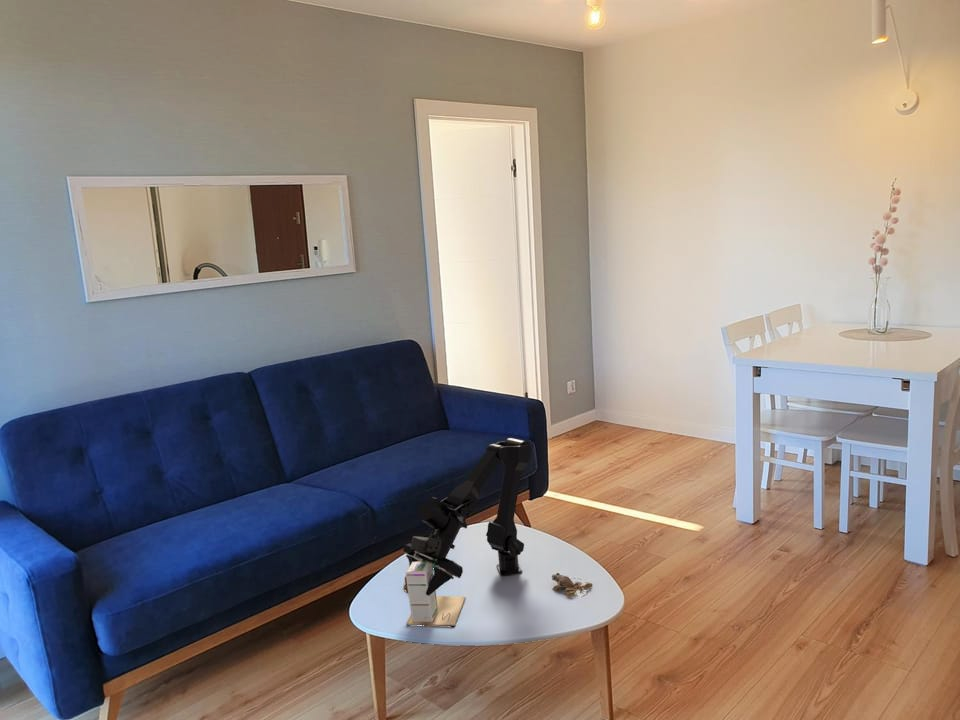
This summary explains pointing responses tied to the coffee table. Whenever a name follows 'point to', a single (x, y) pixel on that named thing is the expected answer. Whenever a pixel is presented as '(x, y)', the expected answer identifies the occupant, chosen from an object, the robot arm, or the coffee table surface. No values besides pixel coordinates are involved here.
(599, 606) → the coffee table surface
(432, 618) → the syrup box
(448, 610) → the board
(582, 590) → the frog figurine
